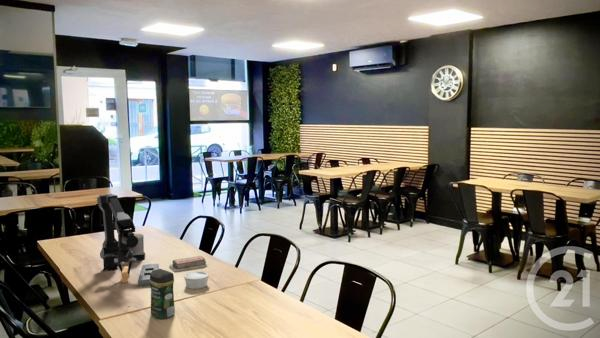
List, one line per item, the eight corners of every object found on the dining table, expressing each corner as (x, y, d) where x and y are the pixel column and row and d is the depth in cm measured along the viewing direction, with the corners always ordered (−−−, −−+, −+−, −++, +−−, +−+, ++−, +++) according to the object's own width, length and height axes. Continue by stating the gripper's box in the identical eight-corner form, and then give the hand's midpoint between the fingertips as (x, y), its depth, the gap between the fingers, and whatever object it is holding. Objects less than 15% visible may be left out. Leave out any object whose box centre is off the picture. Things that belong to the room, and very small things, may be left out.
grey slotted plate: (155, 285, 222) (155, 279, 222) (138, 286, 220) (138, 280, 220) (158, 269, 245) (158, 263, 245) (142, 270, 243) (142, 264, 243)
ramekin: (212, 283, 225) (212, 272, 224) (200, 291, 214) (200, 280, 214) (192, 280, 229) (192, 270, 228) (179, 288, 218) (179, 277, 218)
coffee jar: (147, 315, 188) (146, 270, 186) (164, 308, 194) (163, 265, 192) (161, 321, 182) (160, 275, 180) (178, 315, 188) (177, 270, 186)
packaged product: (201, 253, 258) (207, 258, 250) (201, 262, 259) (207, 267, 250) (168, 258, 249) (174, 263, 241) (169, 267, 250) (174, 272, 241)
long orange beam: (121, 282, 225) (121, 272, 224) (124, 275, 235) (124, 266, 234) (127, 282, 226) (126, 272, 225) (129, 275, 235) (129, 265, 235)
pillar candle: (122, 260, 260) (121, 234, 258) (134, 255, 269) (133, 230, 267) (135, 263, 256) (135, 236, 254) (147, 258, 265) (147, 232, 263)
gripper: (101, 248, 218) (102, 281, 220) (143, 246, 222) (144, 278, 224) (105, 242, 229) (106, 273, 231) (145, 240, 233) (145, 270, 235)
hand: (125, 274), depth 230 cm, fingers closed on long orange beam, 2 cm apart
